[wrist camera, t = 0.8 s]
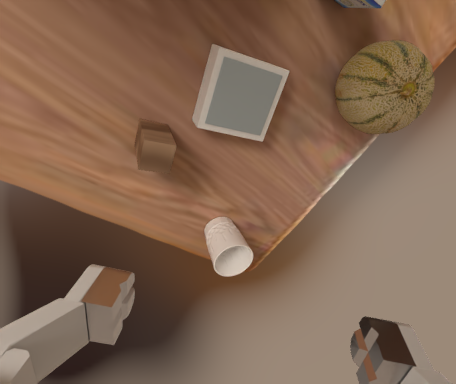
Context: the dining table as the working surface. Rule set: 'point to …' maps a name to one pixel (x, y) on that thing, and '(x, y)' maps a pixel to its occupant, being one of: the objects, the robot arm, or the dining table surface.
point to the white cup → (227, 247)
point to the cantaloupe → (384, 87)
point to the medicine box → (361, 3)
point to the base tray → (238, 94)
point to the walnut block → (154, 147)
